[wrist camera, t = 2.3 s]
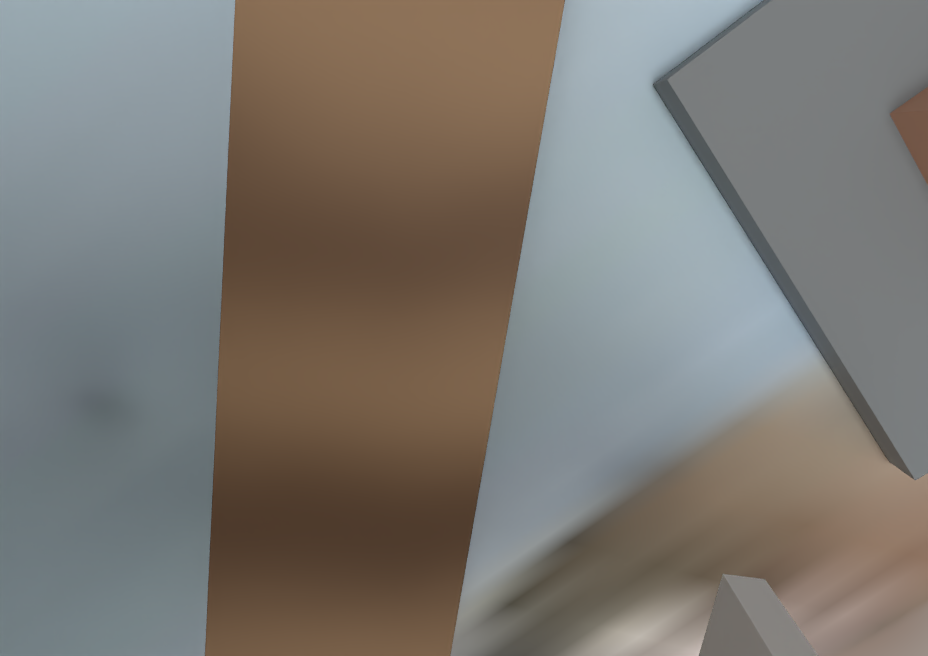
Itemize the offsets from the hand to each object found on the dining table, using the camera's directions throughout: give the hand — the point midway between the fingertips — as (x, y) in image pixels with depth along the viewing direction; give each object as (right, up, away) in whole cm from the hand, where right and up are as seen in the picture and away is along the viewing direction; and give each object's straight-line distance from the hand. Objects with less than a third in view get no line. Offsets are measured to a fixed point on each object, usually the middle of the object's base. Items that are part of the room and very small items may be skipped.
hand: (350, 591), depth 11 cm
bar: (0, +2, +6) cm, 6 cm away
